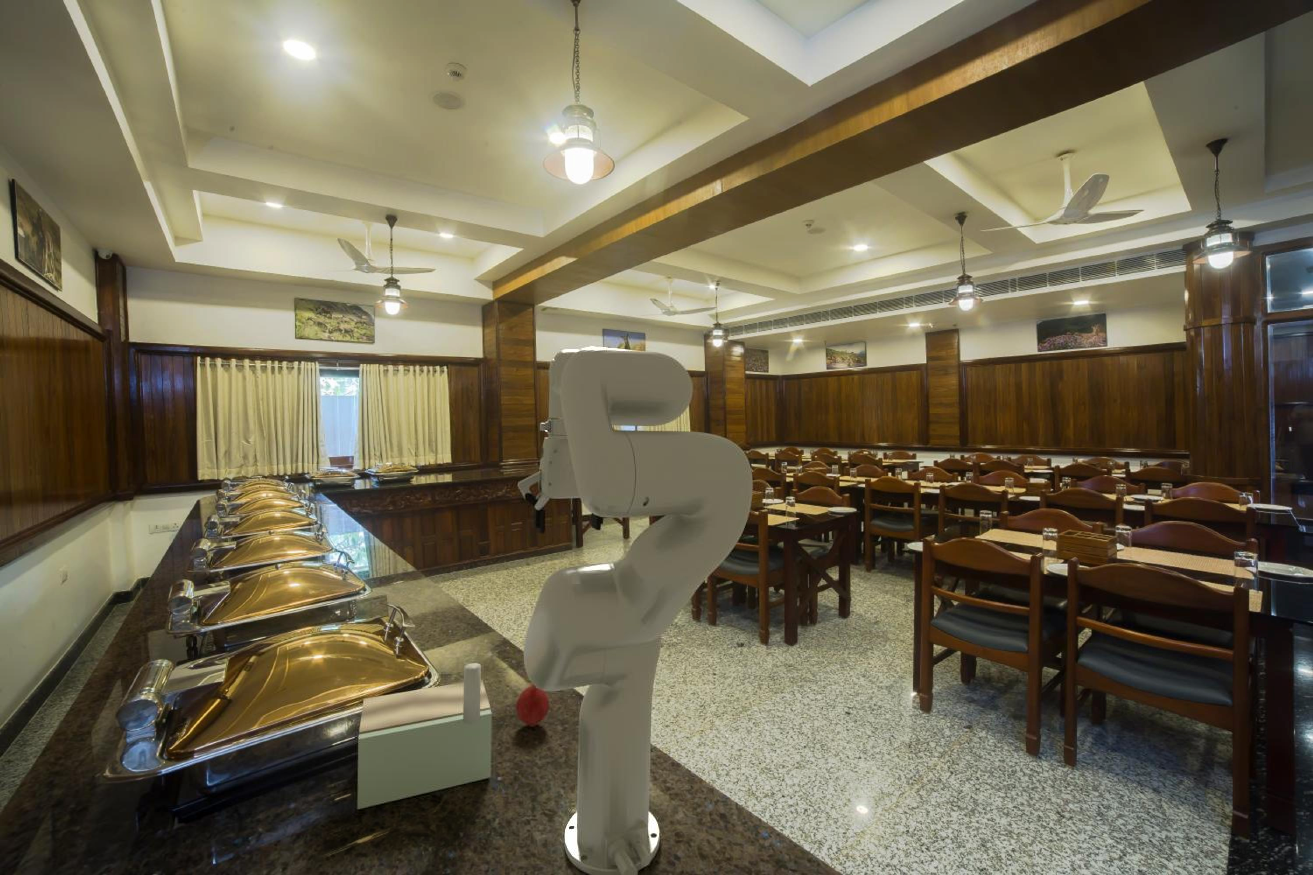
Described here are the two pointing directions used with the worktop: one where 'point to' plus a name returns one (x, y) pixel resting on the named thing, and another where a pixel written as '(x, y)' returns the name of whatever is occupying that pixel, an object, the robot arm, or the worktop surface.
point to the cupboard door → (427, 752)
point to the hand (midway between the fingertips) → (568, 530)
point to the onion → (532, 705)
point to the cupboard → (415, 707)
